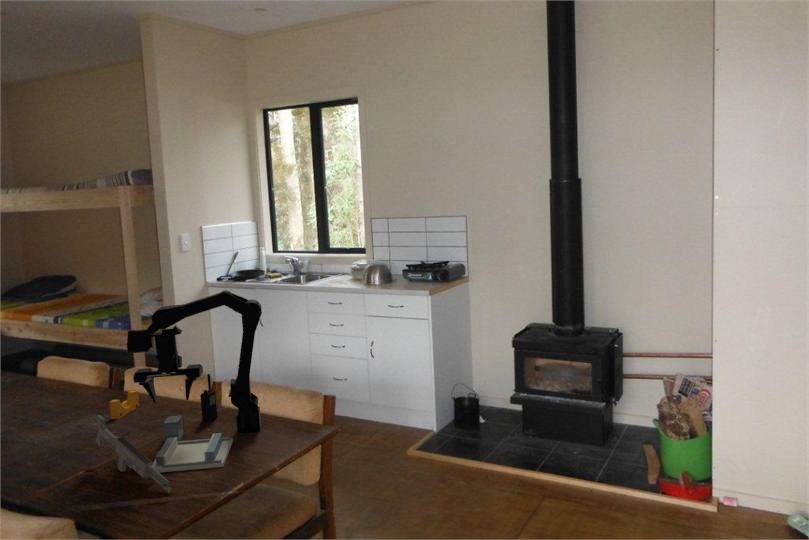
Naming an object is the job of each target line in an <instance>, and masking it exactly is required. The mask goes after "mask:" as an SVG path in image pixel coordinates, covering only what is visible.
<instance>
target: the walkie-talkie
mask: <svg viewBox="0 0 809 540" xmlns="http://www.w3.org/2000/svg"><path fill="white" fill-rule="evenodd" d="M211 382H212V381H211V374H210V373H207V388H208V390H207V389H203V392H202V393H200V407H201V409H200V410H201V418H202V419H201V421H202V422H208V423H210V422H212V421H214V420H216V419H217V418H218V407H217V396H216V395H217V394H216V390H212V384H211Z"/></svg>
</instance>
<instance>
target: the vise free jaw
mask: <svg viewBox="0 0 809 540" xmlns="http://www.w3.org/2000/svg"><path fill="white" fill-rule="evenodd" d="M223 438H224V437H223V432H217V433H212V435H211V438H209V439H210V441H209V443H208V446H207V448H206V450H205V452H204V455H205V461H208V460H215V459H216V456H217V454H218V451H219V449H220V447H221V444H222V442H223Z"/></svg>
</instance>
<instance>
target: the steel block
mask: <svg viewBox="0 0 809 540" xmlns="http://www.w3.org/2000/svg"><path fill="white" fill-rule="evenodd" d="M183 424H184V422H183V415H173V416H172V415H171V416H167V418H165V421H163V433H164V443H165V442H166V440H167V439H168V438H172V437H177V441H181V439H182V437H183V435H184V425H183Z"/></svg>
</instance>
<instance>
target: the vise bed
mask: <svg viewBox="0 0 809 540" xmlns="http://www.w3.org/2000/svg"><path fill="white" fill-rule="evenodd" d="M222 438H223V442H222V444H221V447H220V449H219V451H218V454H217V456H216V459H215V460H208V461H205V455H204V452H205V450H206V448H207V446H208V443H209V441H210V439H211V438H204V439H203V438H201V439H193V440H180V441H177V437H172V438H168V439H167V440H166V442H165V441H164V443H163V445H162V446H161V448H160V450H159V451H158V453H157V454H156V455H155V459H154V461H152V462H153V465H152V467H153V468H154V469H156V470H157V471H158V472H159V473H160V474H161V473H169V472H181V471H191V470H192V471H193V470H202V469H214V468H222V467H224V466H225V464H226V461H227V459H228V456H229V453H230V450H231V448H232V445H233V441H234V438H231V436H228V437H227V436H226V437H225V436H224V437H222Z"/></svg>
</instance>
